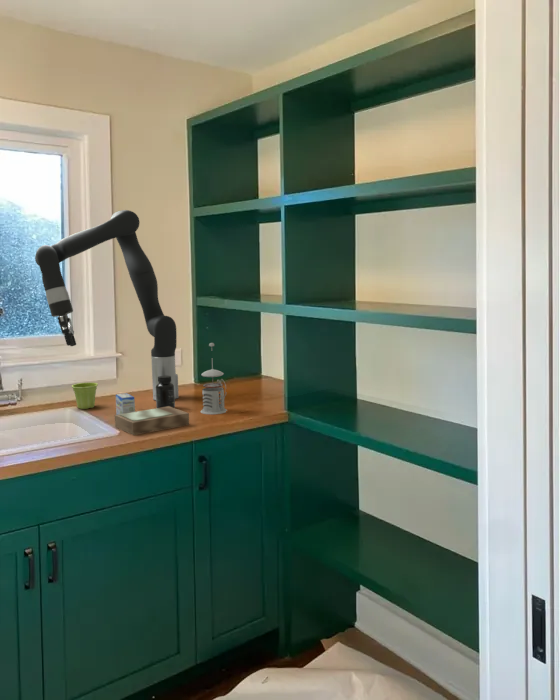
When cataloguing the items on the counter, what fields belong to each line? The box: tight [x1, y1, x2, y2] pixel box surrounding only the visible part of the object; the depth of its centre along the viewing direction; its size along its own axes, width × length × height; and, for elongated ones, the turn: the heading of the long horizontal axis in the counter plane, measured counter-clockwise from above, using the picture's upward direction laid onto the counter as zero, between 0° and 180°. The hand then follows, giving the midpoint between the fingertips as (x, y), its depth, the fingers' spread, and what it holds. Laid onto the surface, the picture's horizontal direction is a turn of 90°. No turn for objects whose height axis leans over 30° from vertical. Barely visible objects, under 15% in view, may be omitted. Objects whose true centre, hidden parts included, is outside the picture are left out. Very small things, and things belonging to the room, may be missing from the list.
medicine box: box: [115, 392, 136, 415], centre depth 227 cm, size 8×4×9 cm, turn 31°
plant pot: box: [71, 382, 99, 410], centre depth 248 cm, size 9×9×9 cm
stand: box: [114, 406, 190, 436], centre depth 218 cm, size 20×14×4 cm
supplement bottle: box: [155, 376, 176, 409], centre depth 243 cm, size 7×7×12 cm
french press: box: [200, 342, 228, 415], centre depth 236 cm, size 10×12×25 cm
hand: (71, 345), depth 234 cm, fingers open, 8 cm apart
